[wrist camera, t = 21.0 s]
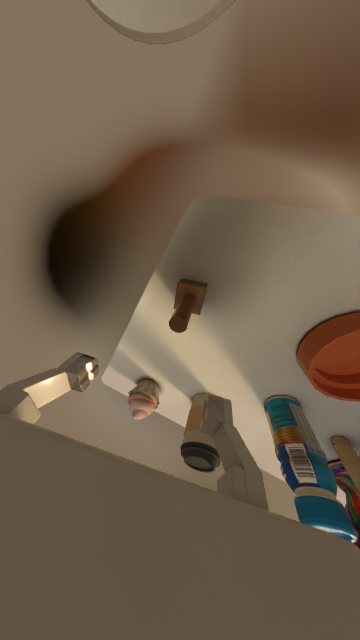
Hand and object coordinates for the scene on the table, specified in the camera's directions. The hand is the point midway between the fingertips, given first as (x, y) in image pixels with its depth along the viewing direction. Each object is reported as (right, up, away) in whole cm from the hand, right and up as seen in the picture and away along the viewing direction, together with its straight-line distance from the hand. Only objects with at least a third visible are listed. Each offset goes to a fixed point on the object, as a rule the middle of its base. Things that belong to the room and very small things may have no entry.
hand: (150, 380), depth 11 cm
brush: (+4, +10, +20) cm, 22 cm away
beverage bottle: (+28, -18, +29) cm, 44 cm away
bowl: (+34, -1, +18) cm, 38 cm away
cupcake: (-7, -16, +36) cm, 40 cm away
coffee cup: (+9, -20, +34) cm, 41 cm away
